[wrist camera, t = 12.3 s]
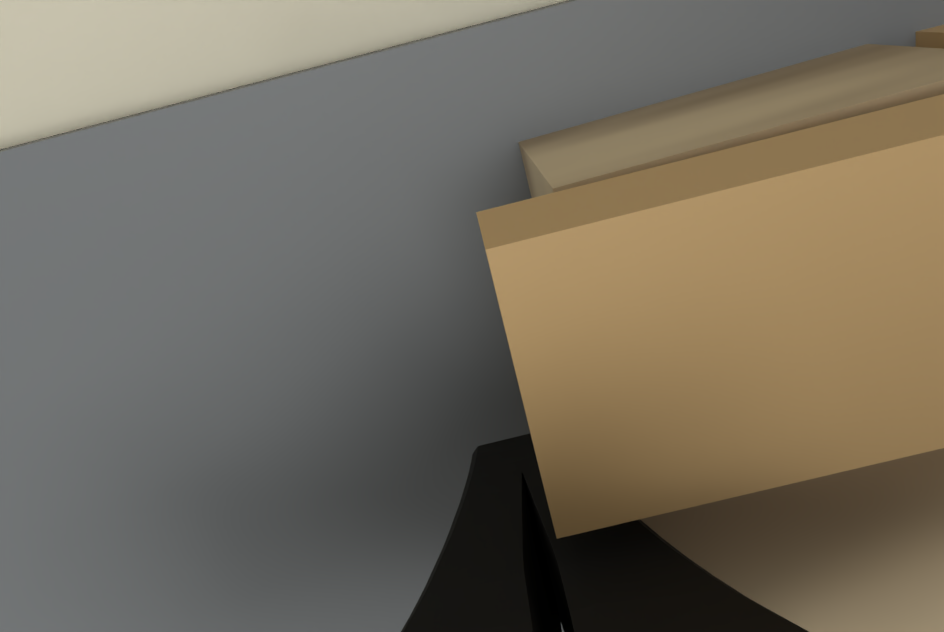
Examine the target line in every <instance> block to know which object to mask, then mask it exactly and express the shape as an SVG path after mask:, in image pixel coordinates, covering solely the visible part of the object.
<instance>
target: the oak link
mask: <svg viewBox="0 0 944 632" xmlns="http://www.w3.org/2000/svg"><path fill="white" fill-rule="evenodd" d="M942 94H944V49H942V48H926V47H910V46H894V45H878V44H865V45H862V46H858V47H854V48H851V49H847V50H844V51H840V52H837V53H833V54H830V55H826V56H822V57H819V58H815V59H812V60H808V61H805V62H801V63H798V64H794V65H790V66H787V67H783V68H780V69H776V70H773V71H769V72H766V73H762V74H758V75H755V76H751V77H748V78H744V79H741V80H737V81H734V82H730V83H727V84H723V85H719V86H716V87H712V88H709V89H705V90H702V91H698V92H695V93H691V94H687V95H684V96H680V97H677V98H673V99H670V100H666V101H663V102H659V103H655V104H652V105H648V106H645V107H641V108H638V109H634V110H631V111H627V112H623V113H620V114H616V115H613V116H609V117H606V118H602V119H599V120H595V121H591V122H588V123H584V124H581V125H577V126H574V127H570V128H567V129H563V130H559V131H556V132H552V133H549V134H545V135H542V136H538V137H535V138H531V139H527V140H524V141H520V142H518V143H519V147H520V151H521V156H522V160H523V164H524V168H525V172H526V177H527V181H528V185H529V189H530V193H531V197H532V198H534V197H538V196H542V195H546V194H550V193H554V192H558V191H562V190H566V189H570V188H574V187H578V186H582V185H586V184H590V183H594V182H598V181H602V180H606V179H610V178H614V177H617V176H621V175H625V174H629V173H633V172H637V171H641V170H645V169H649V168H653V167H657V166H661V165H665V164H669V163H673V162H677V161H681V160H685V159H689V158H693V157H697V156H701V155H704V154H708V153H712V152H716V151H720V150H724V149H728V148H732V147H736V146H740V145H744V144H748V143H752V142H756V141H760V140H764V139H768V138H772V137H776V136H780V135H784V134H788V133H792V132H795V131H799V130H803V129H807V128H811V127H815V126H819V125H823V124H827V123H831V122H835V121H839V120H843V119H847V118H851V117H855V116H859V115H863V114H867V113H871V112H875V111H879V110H883V109H886V108H890V107H894V106H898V105H902V104H906V103H910V102H914V101H918V100H922V99H926V98H930V97H934V96H938V95H942ZM640 520H642V521H643V522H644V523H645V524H646V525H648V526H649V527H650V528H651V529H652V530H653V531H655V532H656V533H657V534H658V535H659V536H661V537H662V538H663V539H664V540H666V541H667V542H668V543H669V544H671V545H672V546H673V547H675V548H676V549H677V550H678V551H680V552H681V553H682V554H684V555H685V556H686V557H688V558H689V559H691V560H692V561H693V562H695V563H696V564H698V565H699V566H701V567H702V568H703V569H705V570H706V571H708V572H709V573H711V574H712V575H713V576H715V577H717V578H718V579H720V580H721V581H723V582H724V583H726V584H727V585H729V586H731V587H732V588H734V589H735V590H737V591H738V592H740V593H741V594H743V595H744V596H746V597H748V598H749V599H751V600H753V601H755V602H757V603H758V604H760V605H762V606H764V607H766V608H767V609H769V610H771V611H773V612H775V613H776V614H778V615H780V616H782V617H784V618H785V619H787V620H789V621H791V622H792V623H794V624H796V625H798V626H800V627H801V628H803V629H805V630H807V631H809V632H944V448H942V449H937V450H933V451H929V452H925V453H920V454H916V455H912V456H908V457H903V458H899V459H895V460H890V461H886V462H882V463H878V464H873V465H869V466H865V467H861V468H856V469H852V470H848V471H844V472H839V473H835V474H831V475H827V476H822V477H818V478H814V479H809V480H805V481H801V482H797V483H792V484H788V485H784V486H780V487H775V488H771V489H767V490H763V491H758V492H754V493H750V494H745V495H741V496H737V497H733V498H728V499H724V500H720V501H716V502H711V503H707V504H703V505H699V506H694V507H690V508H686V509H682V510H677V511H673V512H669V513H664V514H660V515H656V516H652V517H647V518H643V519H640Z"/></svg>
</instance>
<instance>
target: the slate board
mask: <svg viewBox="0 0 944 632" xmlns="http://www.w3.org/2000/svg"><path fill="white" fill-rule="evenodd" d="M865 44H878V45H894V46H910V47H926V48H942V49H944V0H569V1H565V2H561V3H557V4H553V5H550V6H546V7H542V8H538V9H534V10H531V11H527V12H523V13H519V14H515V15H511V16H508V17H504V18H500V19H496V20H492V21H489V22H485V23H481V24H477V25H473V26H470V27H466V28H462V29H458V30H454V31H451V32H447V33H443V34H439V35H435V36H432V37H428V38H424V39H420V40H416V41H412V42H409V43H405V44H401V45H397V46H393V47H390V48H386V49H382V50H378V51H374V52H371V53H367V54H363V55H359V56H355V57H352V58H348V59H344V60H340V61H336V62H333V63H329V64H325V65H321V66H317V67H313V68H310V69H306V70H302V71H298V72H294V73H291V74H287V75H283V76H279V77H275V78H272V79H268V80H264V81H260V82H256V83H253V84H249V85H245V86H241V87H237V88H234V89H230V90H226V91H222V92H218V93H215V94H211V95H207V96H203V97H199V98H195V99H192V100H188V101H184V102H180V103H176V104H173V105H169V106H165V107H161V108H157V109H154V110H150V111H146V112H142V113H138V114H135V115H131V116H127V117H123V118H119V119H116V120H112V121H108V122H104V123H100V124H96V125H93V126H89V127H85V128H81V129H77V130H74V131H70V132H66V133H62V134H58V135H55V136H51V137H47V138H43V139H39V140H36V141H32V142H28V143H24V144H20V145H17V146H13V147H9V148H5V149H1V150H0V632H401V631H402V629H403V627H404V625H405V624H406V622H407V620H408V618H409V617H410V615H411V613H412V611H413V609H414V607H415V605H416V604H417V602H418V600H419V598H420V596H421V594H422V592H423V590H424V588H425V586H426V584H427V581H428V579H429V577H430V575H431V573H432V570H433V568H434V566H435V564H436V562H437V559H438V557H439V555H440V553H441V551H442V548H443V546H444V544H445V541H446V539H447V536H448V533H449V531H450V528H451V525H452V523H453V520H454V517H455V514H456V512H457V509H458V506H459V503H460V500H461V497H462V494H463V491H464V488H465V484H466V481H467V477H468V473H469V469H470V465H471V460H472V454H473V452H474V451H475V450H476V448H477V447H478V446H480V445H484V444H488V443H492V442H497V441H501V440H505V439H509V438H513V437H517V436H521V435H526V434H531V438H532V442H533V446H534V450H535V454H536V458H537V462H538V466H539V470H540V474H541V478H542V482H543V486H544V490H545V494H546V498H547V502H548V506H549V510H550V514H551V518H552V522H553V526H554V530H555V534H556V538H557V539H558V538H562V537H566V536H571V535H575V534H579V533H583V532H588V531H592V530H596V529H601V528H605V527H609V526H613V525H618V524H622V523H626V522H630V521H635V520H639V519H643V518H647V517H652V516H656V515H660V514H664V513H669V512H673V511H677V510H682V509H686V508H690V507H694V506H699V505H703V504H707V503H711V502H716V501H720V500H724V499H728V498H733V497H737V496H741V495H745V494H750V493H754V492H758V491H763V490H767V489H771V488H775V487H780V486H784V485H788V484H792V483H797V482H801V481H805V480H809V479H814V478H818V477H822V476H827V475H831V474H835V473H839V472H844V471H848V470H852V469H856V468H861V467H865V466H869V465H873V464H878V463H882V462H886V461H890V460H895V459H899V458H903V457H908V456H912V455H916V454H920V453H925V452H929V451H933V450H937V449H942V448H944V94H942V95H938V96H934V97H930V98H926V99H922V100H918V101H914V102H910V103H906V104H902V105H898V106H894V107H890V108H886V109H883V110H879V111H875V112H871V113H867V114H863V115H859V116H855V117H851V118H847V119H843V120H839V121H835V122H831V123H827V124H823V125H819V126H815V127H811V128H807V129H803V130H799V131H795V132H792V133H788V134H784V135H780V136H776V137H772V138H768V139H764V140H760V141H756V142H752V143H748V144H744V145H740V146H736V147H732V148H728V149H724V150H720V151H716V152H712V153H708V154H704V155H701V156H697V157H693V158H689V159H685V160H681V161H677V162H673V163H669V164H665V165H661V166H657V167H653V168H649V169H645V170H641V171H637V172H633V173H629V174H625V175H621V176H617V177H614V178H610V179H606V180H602V181H598V182H594V183H590V184H586V185H582V186H578V187H574V188H570V189H566V190H562V191H558V192H554V193H550V194H546V195H542V196H538V197H534V198H532V197H531V193H530V189H529V185H528V181H527V177H526V172H525V168H524V164H523V160H522V156H521V151H520V147H519V143H518V142H520V141H524V140H527V139H531V138H535V137H538V136H542V135H545V134H549V133H552V132H556V131H559V130H563V129H567V128H570V127H574V126H577V125H581V124H584V123H588V122H591V121H595V120H599V119H602V118H606V117H609V116H613V115H616V114H620V113H623V112H627V111H631V110H634V109H638V108H641V107H645V106H648V105H652V104H655V103H659V102H663V101H666V100H670V99H673V98H677V97H680V96H684V95H687V94H691V93H695V92H698V91H702V90H705V89H709V88H712V87H716V86H719V85H723V84H727V83H730V82H734V81H737V80H741V79H744V78H748V77H751V76H755V75H758V74H762V73H766V72H769V71H773V70H776V69H780V68H783V67H787V66H790V65H794V64H798V63H801V62H805V61H808V60H812V59H815V58H819V57H822V56H826V55H830V54H833V53H837V52H840V51H844V50H847V49H851V48H854V47H858V46H862V45H865ZM561 627H562V624H561ZM562 632H564V630H563V627H562Z"/></svg>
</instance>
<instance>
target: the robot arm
mask: <svg viewBox="0 0 944 632" xmlns="http://www.w3.org/2000/svg"><path fill="white" fill-rule="evenodd" d="M561 624H562V627H563V630H564V632H809V631H807V630H805V629H803V628H801V627H800V626H798V625H796V624H794V623H792V622H791V621H789V620H787V619H785V618H784V617H782V616H780V615H778V614H776V613H775V612H773V611H771V610H769V609H767V608H766V607H764V606H762V605H760V604H758V603H757V602H755V601H753V600H751V599H749V598H748V597H746V596H744V595H743V594H741V593H740V592H738V591H737V590H735V589H734V588H732V587H731V586H729V585H727V584H726V583H724V582H723V581H721V580H720V579H718V578H717V577H715V576H713V575H712V574H711V573H709V572H708V571H706V570H705V569H703V568H702V567H701V566H699V565H698V564H696V563H695V562H693V561H692V560H691V559H689V558H688V557H686V556H685V555H684V554H682V553H681V552H680V551H678V550H677V549H676V548H675V547H673V546H672V545H671V544H669V543H668V542H667V541H666V540H664V539H663V538H662V537H661V536H659V535H658V534H657V533H656V532H655V531H653V530H652V529H651V528H650V527H649V526H648V525H646V524H645V523H644V522H643V521H642V520H640V519H639V520H635V521H630V522H626V523H622V524H618V525H613V526H609V527H605V528H601V529H596V530H592V531H588V532H583V533H579V534H575V535H571V536H566V537H562V538H558V539H557V538H556V534H555V530H554V526H553V522H552V518H551V514H550V510H549V506H548V502H547V498H546V494H545V490H544V486H543V482H542V478H541V474H540V470H539V466H538V462H537V458H536V454H535V450H534V446H533V442H532V438H531V434H526V435H521V436H517V437H513V438H509V439H505V440H501V441H497V442H492V443H488V444H484V445H480V446H478V447H477V448H476V450H475V451H474V452H473V454H472V460H471V465H470V469H469V473H468V477H467V481H466V484H465V488H464V491H463V494H462V497H461V500H460V503H459V506H458V509H457V512H456V514H455V517H454V520H453V523H452V525H451V528H450V531H449V533H448V536H447V539H446V541H445V544H444V546H443V548H442V551H441V553H440V555H439V557H438V559H437V562H436V564H435V566H434V568H433V570H432V573H431V575H430V577H429V579H428V581H427V584H426V586H425V588H424V590H423V592H422V594H421V596H420V598H419V600H418V602H417V604H416V605H415V607H414V609H413V611H412V613H411V615H410V617H409V618H408V620H407V622H406V624H405V625H404V627H403V629H402V631H401V632H562V627H561Z"/></svg>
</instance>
